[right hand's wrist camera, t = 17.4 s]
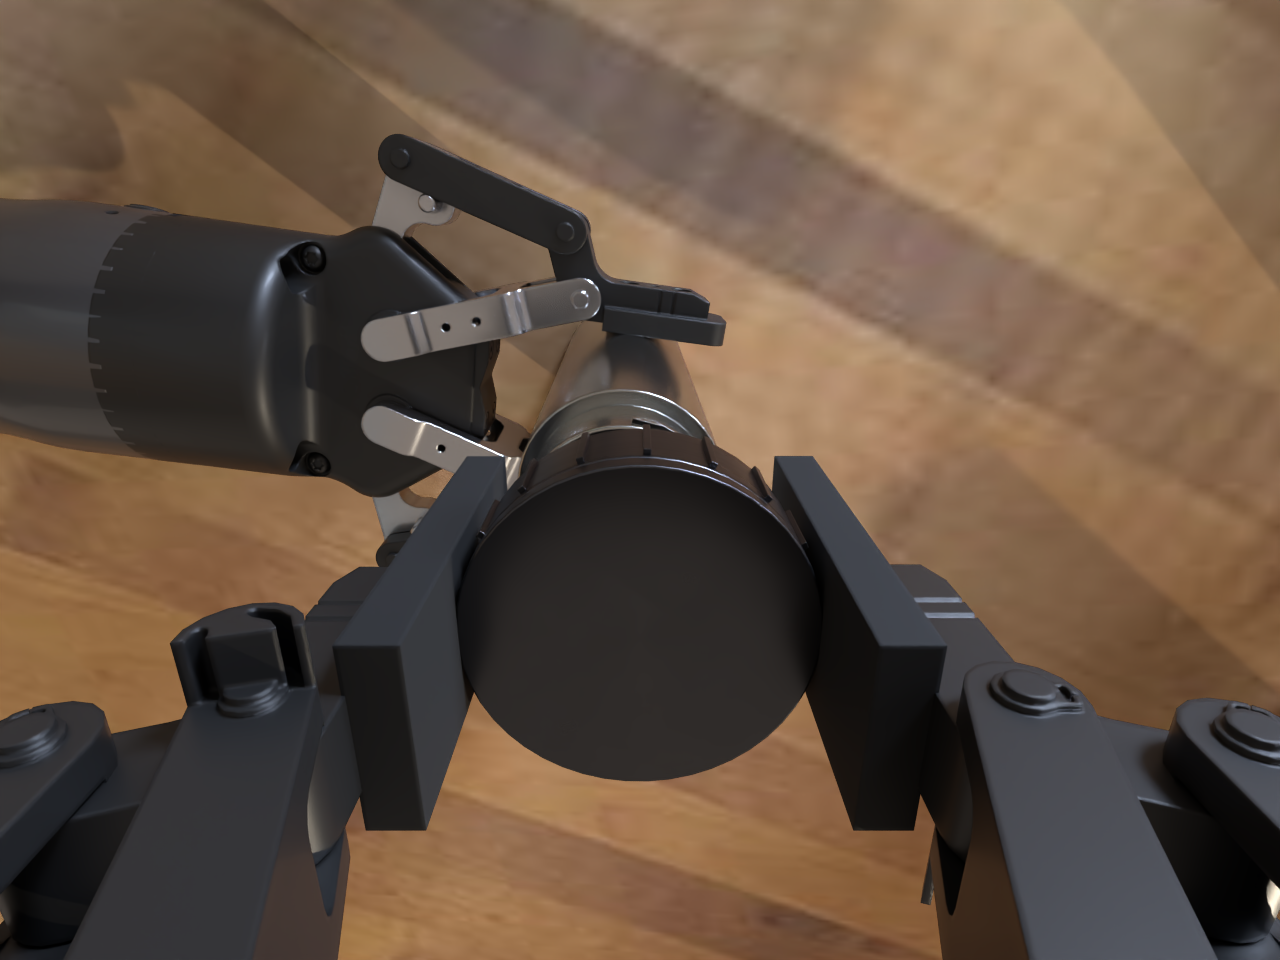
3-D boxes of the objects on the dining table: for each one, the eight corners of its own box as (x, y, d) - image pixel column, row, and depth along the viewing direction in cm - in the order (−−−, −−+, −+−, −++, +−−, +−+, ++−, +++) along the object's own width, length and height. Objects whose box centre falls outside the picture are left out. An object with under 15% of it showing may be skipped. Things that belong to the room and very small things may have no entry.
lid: (501, 391, 11) (475, 423, 9) (846, 463, 11) (882, 507, 10) (457, 682, 13) (429, 752, 11) (753, 733, 13) (770, 809, 11)
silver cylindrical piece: (663, 425, 30) (699, 639, 15) (557, 399, 29) (486, 594, 14) (693, 319, 28) (766, 440, 13) (581, 289, 28) (529, 383, 13)
